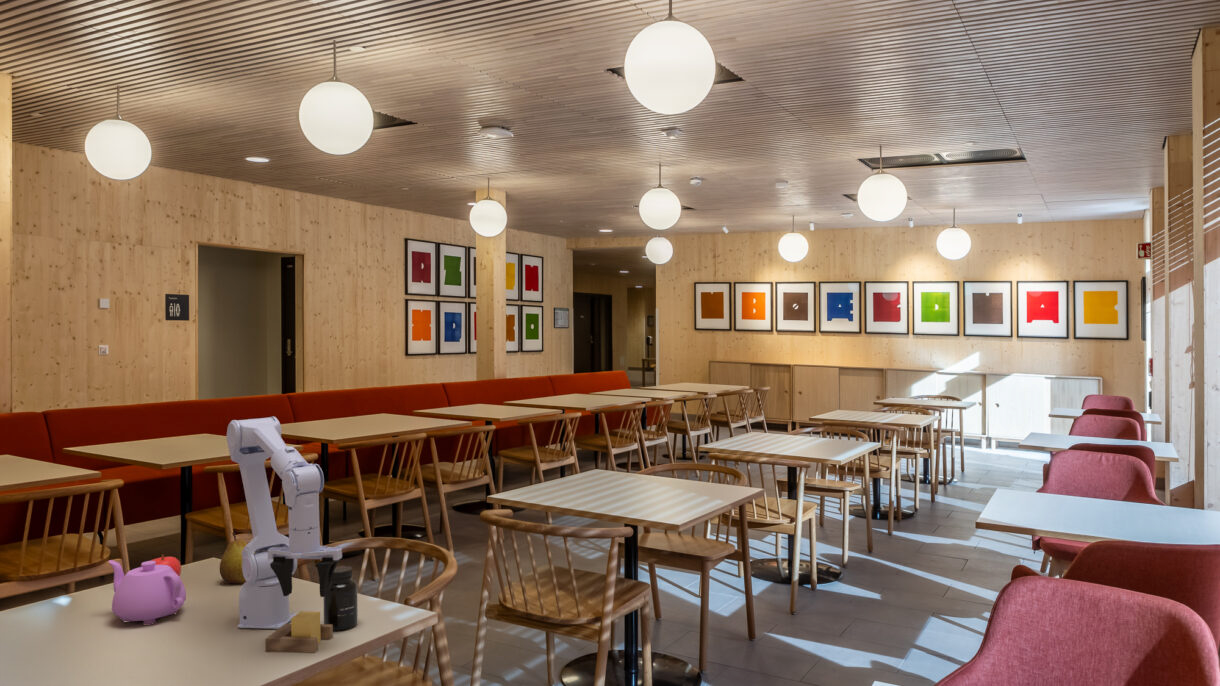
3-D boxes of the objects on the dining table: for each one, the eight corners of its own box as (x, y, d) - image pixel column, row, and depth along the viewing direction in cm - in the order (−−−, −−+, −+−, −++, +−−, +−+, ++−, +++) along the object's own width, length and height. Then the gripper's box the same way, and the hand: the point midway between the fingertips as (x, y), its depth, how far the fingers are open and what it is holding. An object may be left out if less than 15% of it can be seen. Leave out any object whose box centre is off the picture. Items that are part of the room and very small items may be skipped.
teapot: (82, 623, 174) (81, 568, 174) (138, 602, 188) (136, 550, 188) (156, 632, 169) (154, 574, 168) (208, 609, 182) (206, 555, 182)
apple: (137, 591, 196) (136, 558, 196) (161, 580, 204) (159, 549, 204) (166, 592, 195) (165, 559, 194) (189, 582, 202) (188, 550, 202)
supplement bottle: (347, 632, 166) (346, 575, 166) (317, 630, 168) (316, 573, 168) (364, 620, 173) (362, 565, 173) (335, 619, 175) (333, 563, 174)
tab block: (301, 640, 163) (301, 611, 163) (320, 641, 162) (319, 611, 162) (291, 648, 159) (291, 618, 159) (311, 649, 158) (310, 618, 158)
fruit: (257, 584, 200) (256, 536, 199) (217, 588, 197) (215, 539, 197) (262, 574, 208) (260, 527, 208) (223, 577, 205) (222, 530, 205)
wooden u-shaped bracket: (265, 651, 158) (265, 638, 157) (286, 635, 165) (285, 623, 165) (314, 652, 156) (314, 639, 156) (333, 636, 164) (332, 624, 164)
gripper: (258, 531, 157) (260, 601, 157) (330, 532, 156) (331, 602, 156) (277, 522, 164) (279, 589, 164) (345, 523, 163) (347, 590, 163)
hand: (305, 594), depth 161 cm, fingers open, 7 cm apart
